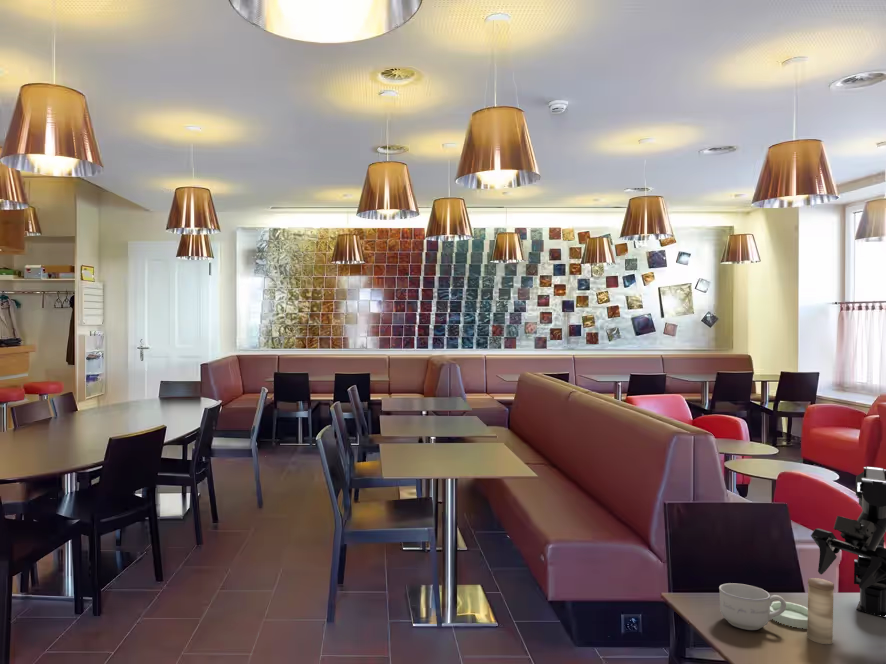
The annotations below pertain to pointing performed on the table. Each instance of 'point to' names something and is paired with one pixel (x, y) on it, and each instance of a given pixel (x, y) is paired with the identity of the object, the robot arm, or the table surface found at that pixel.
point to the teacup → (747, 605)
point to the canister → (820, 611)
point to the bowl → (791, 614)
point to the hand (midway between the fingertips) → (839, 580)
